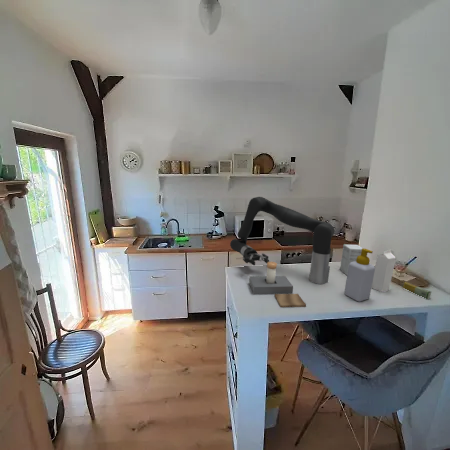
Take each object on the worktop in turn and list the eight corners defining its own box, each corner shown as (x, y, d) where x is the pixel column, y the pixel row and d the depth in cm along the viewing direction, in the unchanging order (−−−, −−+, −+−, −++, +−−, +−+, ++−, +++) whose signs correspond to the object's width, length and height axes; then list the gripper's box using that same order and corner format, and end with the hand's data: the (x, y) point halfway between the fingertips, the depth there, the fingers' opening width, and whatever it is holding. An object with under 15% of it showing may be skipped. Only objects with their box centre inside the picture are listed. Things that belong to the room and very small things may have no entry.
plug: (273, 285, 133) (275, 261, 130) (275, 290, 129) (278, 265, 125) (264, 286, 133) (266, 261, 130) (266, 290, 128) (268, 265, 125)
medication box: (430, 299, 126) (432, 291, 125) (427, 299, 125) (429, 292, 124) (405, 288, 136) (406, 281, 136) (402, 289, 135) (403, 282, 134)
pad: (297, 295, 124) (297, 293, 124) (305, 306, 115) (306, 304, 114) (274, 296, 123) (274, 294, 123) (280, 307, 113) (280, 305, 113)
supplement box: (361, 276, 149) (366, 249, 145) (346, 275, 149) (350, 249, 145) (353, 269, 159) (358, 244, 155) (339, 269, 159) (343, 243, 155)
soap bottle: (359, 302, 120) (367, 253, 114) (342, 294, 127) (350, 247, 121) (370, 298, 124) (379, 251, 118) (354, 290, 131) (362, 245, 125)
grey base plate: (284, 282, 138) (285, 275, 137) (292, 293, 126) (293, 286, 125) (249, 283, 136) (249, 276, 135) (253, 294, 124) (254, 287, 123)
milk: (388, 290, 133) (397, 251, 127) (381, 292, 130) (389, 253, 125) (378, 285, 138) (386, 247, 133) (370, 287, 136) (378, 249, 130)
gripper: (238, 248, 149) (250, 257, 135) (259, 246, 154) (273, 255, 139) (237, 260, 151) (249, 270, 136) (258, 257, 156) (272, 267, 141)
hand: (261, 262), depth 138 cm, fingers open, 8 cm apart
